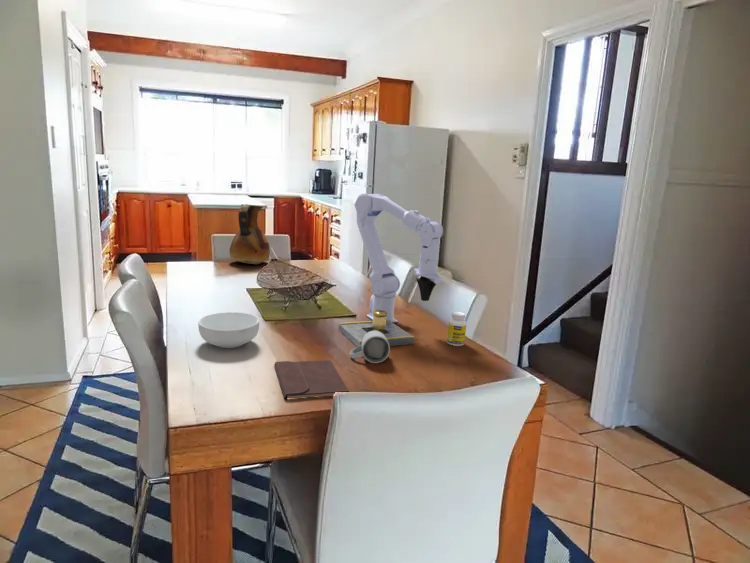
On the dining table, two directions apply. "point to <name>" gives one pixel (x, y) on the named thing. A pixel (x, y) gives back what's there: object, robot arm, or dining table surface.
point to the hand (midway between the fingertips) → (425, 300)
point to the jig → (359, 329)
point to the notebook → (309, 378)
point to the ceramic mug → (372, 348)
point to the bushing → (379, 320)
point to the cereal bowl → (228, 329)
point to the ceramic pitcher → (249, 238)
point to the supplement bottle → (456, 329)
